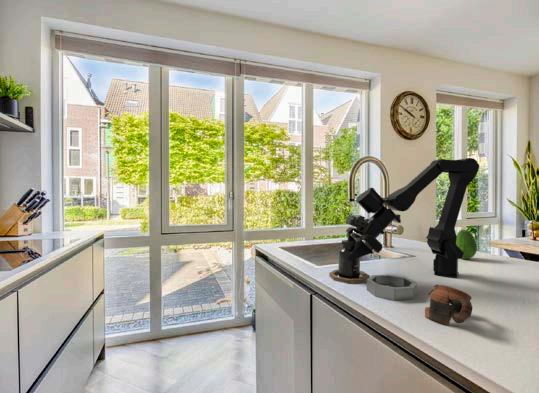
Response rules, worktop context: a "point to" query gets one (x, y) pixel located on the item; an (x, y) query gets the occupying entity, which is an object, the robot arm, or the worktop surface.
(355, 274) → the supplement bottle
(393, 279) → the hub socket
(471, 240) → the avocado
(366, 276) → the walnut ring
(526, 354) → the worktop surface
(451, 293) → the pottery mug
